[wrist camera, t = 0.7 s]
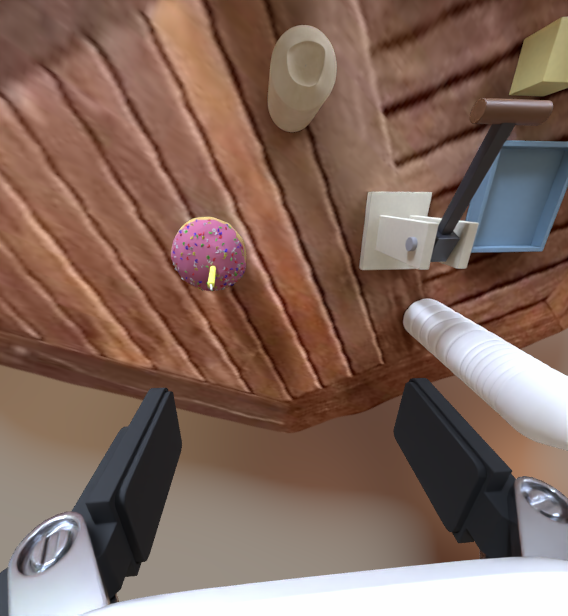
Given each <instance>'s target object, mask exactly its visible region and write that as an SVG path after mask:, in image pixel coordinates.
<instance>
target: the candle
mask: <svg viewBox="0 0 568 616" xmlns="http://www.w3.org/2000/svg"><path fill="white" fill-rule="evenodd" d="M336 71H337V64H336V57H335V53H334V50H333V47H332V45H331V43H330V41H329V40H328V38H327V37H326V36H325V35H324V34H323V33H322V32H321V31H320V30H318V29H317V28H314V27H312V26H308V25H299V26H295V27H293V28H290V29H289V30H287V31H286V32H285V33H284V34H283V35H282V36H281V37H280V38H279V40H278V41H277V43H276V45H275V47H274V50H273V53H272V57H271V64H270V75H269V87H268V110H269V113H270V116H271V118H272V120H273V121H274V123H275V124H276V125H277V126H278V127H279V128H281V129H282V130H284V131H287V132H297V131H300V130H302V129H304V128H305V127H306V126H307V125H308V124H309V123H310V122H311V121H312V119H313V118H314V116H315V115H316V113H317V112H318V111H319V109H320V108H321V106H322V105H323V103H324V102H325V100H326V99H327V98H328V96H329V95H330V93H331V91H332V89H333V86H334V83H335V79H336Z"/></svg>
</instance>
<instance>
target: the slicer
mask: <svg viewBox="0 0 568 616" xmlns="http://www.w3.org/2000/svg"><path fill="white" fill-rule="evenodd" d="M431 196H432V192H368V197H367V206H366V214H365V223H364V231H363V240H362V248H361V257H360V265H359V268H360V269H361V270H390V269H419V270H426V269H429V265H430V261H431V256H432V252H433V247H434V243H435V238H436V234H437V229H438V225H439V223H440V221H441V219H442V218H433V217H427V215H428V210H429V205H430V201H431ZM478 225H479V223H476V222H468V221H459V222H458V223H457V225H456V227H455V229H454V230H453V231H454V233H455V234H456V235H457V236H458V237H459V238H460V240H459V241H458V243H457V244H456V246H455V248H454V249H453V251H452V252H451V254H450V256H449V257H448V259H447V260H446V262H440V263H443V264H446V265H449V266H451V267H454V268H457V269H465V268H467V264H468V261H469V257H470V254H471V250H472V246H473V243H474V239H475V236H476V232H477V229H478Z"/></svg>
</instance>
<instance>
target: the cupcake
mask: <svg viewBox="0 0 568 616" xmlns="http://www.w3.org/2000/svg"><path fill="white" fill-rule="evenodd" d="M171 258H172V261H173V265H174V266H175V270H176V269H177V271H178V273H179V274H180V276H181V277H182V278H181V279H183V280H185V281H186V282H188V283H189V284H191V285H193V286H195V287H197V288H199V289H201V290H207V291H215V290H216V291H217V290H223V289H225V288H227V287H229V286H233V285H234V283H236V282H237V281H238V280H239V279H240V278H242V277H243V274H244V272H245V269H246V263H245V262H246V250H245V244H244V241H243V239H242V238H241V236H240V235H239V234H238V233H237V232H236V231H235V230H234V229H233V227H232V226H231V225H230V224H228V223H226V222H224V221H221V220H219V219H216V218H213V217H200V218H194V219H192V220H190V221H188V222H187V223H185V224H184V225H183V226H182V227H181V228H180V230H179V231H178V233H177V235H176V237H175V239H174V241H173V245H172V249H171Z"/></svg>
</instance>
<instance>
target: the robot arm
mask: <svg viewBox="0 0 568 616" xmlns="http://www.w3.org/2000/svg"><path fill="white" fill-rule="evenodd" d="M394 436H395V439H396V441H397V443H398V444H399V446H400V448H401V450H402V451H403V453H404V455H405V457H406V459H407V460H408V462H409V464H410V466H411V467H412V469H413V471H414V473H415V475H416V476H417V478H418V480H419V482H420V483H421V485H422V487H423V489H424V491H425V492H426V494H427V496H428V498H429V499H430V501H431V503H432V505H433V506H434V508H435V510H436V512H437V514H438V515H439V517H440V519H441V521H442V522H443V524H444V526H445V527H446V529H447V530H448V531H449V532H452V533H453V535H454V537H455V538H456V540H457V542H458V543H466V542H474V541H475V542H476V544H477V546H478V547H479V549H480V559H479V560H466V561H456V562H446V563H437V564H427V565H417V566H406V567H397V568H387V569H378V570H368V571H359V572H350V573H340V574H331V575H322V576H312V577H303V578H294V579H285V580H276V581H267V582H259V583H250V584H241V585H232V586H225V587H215V588H206V589H199V590H191V591H184V592H176V593H169V594H161V595H154V596H147V597H143V598H137V599H133V600H127V601H122V602H119V600H118V596H117V592H118V591H119V590H120V589H121V587H122V584H123V581H124V578H125V577H129V576H137V574H138V571H139V568H140V565H141V562H145V561H146V560H147V559H148V557H149V554H150V551H151V548H152V545H153V541H154V538H155V535H156V531H157V528H158V525H159V522H160V518H161V515H162V512H163V508H164V505H165V502H166V499H167V495H168V492H169V489H170V485H171V482H172V479H173V476H174V473H175V469H176V466H177V463H178V459H179V456H180V453H181V448H182V440H181V435H180V429H179V424H178V418H177V412H176V406H175V401H174V395H173V392H169V391H168V389H167V388H151V389H150V390H149V391H148V393H147V395H146V396H145V398H144V400H143V402H142V403H141V405H140V407H139V409H138V410H137V412H136V414H135V416H134V418H133V419H132V421H131V423H130V425H129V426H128V427H123V428H122V429H121V430H120V431H119V433H118V434H117V436H116V437H115V439H114V441H113V442H112V444H111V446H110V448H109V449H108V451H107V453H106V454H105V456H104V458H103V459H102V461H101V463H100V464H99V466H98V468H97V470H96V471H95V473H94V475H93V476H92V478H91V479H90V481H89V483H88V485H87V486H86V488H85V490H84V491H83V493H82V495H81V496H80V498H79V500H78V502H77V503H76V505H75V506H74V508H73V510H72V511H71V512H64V513H60V514H57V515H55V516H53V517H51V518H49V519H47V520H45V521H44V522H42V523H41V524H39V525H38V526H37V527H35V528H34V529H33V530H32V531H31V532H30V533H29V534H28V535H27V536H26V537H25V538H24V539H23V540H22V541H21V543H20V544H19V545H18V546H17V548H16V549H15V551H14V553H13V555H12V557H11V559H10V561H9V565H8V568H6V569H5V570H3V571H2V572H1V573H0V616H568V498H566V497H565V496H564V495H563V494H562V493H561V492H560V491H558V490H557V489H555V488H554V487H552V486H551V485H549V484H547V483H545V482H543V481H541V480H538V479H536V478H533V477H526V476H523V477H518V478H517V479H515V478H514V476H513V475H512V474H511V472H512V470H511V469H510V468H509V467H508V466H507V465H506V463H505V462H504V461H503V460H502V459H501V458H500V457H499V456H498V455H497V454H496V453H495V452H494V451H493V449H492V448H491V447H490V446H489V445H488V444H487V443H486V442H485V441H484V440H483V439H482V438H481V436H479V434H477V432H476V431H475V430H474V429H473V428H472V427H471V426H470V425H469V424H468V422H467V421H466V420H465V419H464V418H463V417H462V416H461V415H460V414H459V413H458V412H457V411H456V409H455V408H454V407H453V406H452V405H451V404H450V403H449V402H448V401H447V400H446V399H445V398H444V397H443V395H442V394H441V393H440V392H439V391H438V390H437V389H436V388H435V387H434V386H433V385H432V383H431V382H430V381H429V380H428V379H426V378H412V379H410V380H409V382H407V383H406V384H405V388H404V392H403V396H402V399H401V403H400V407H399V411H398V415H397V419H396V423H395V427H394Z"/></svg>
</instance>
